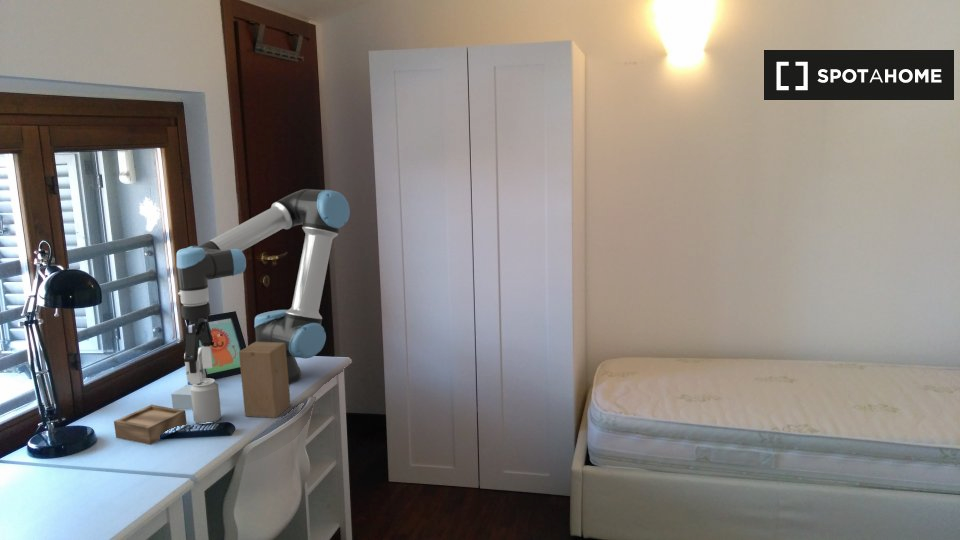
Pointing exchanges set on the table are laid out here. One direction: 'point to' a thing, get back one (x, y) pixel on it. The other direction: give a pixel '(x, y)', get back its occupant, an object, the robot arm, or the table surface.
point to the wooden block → (264, 379)
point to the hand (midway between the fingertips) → (201, 375)
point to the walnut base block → (149, 423)
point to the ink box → (202, 371)
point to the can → (205, 401)
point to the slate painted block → (182, 398)
